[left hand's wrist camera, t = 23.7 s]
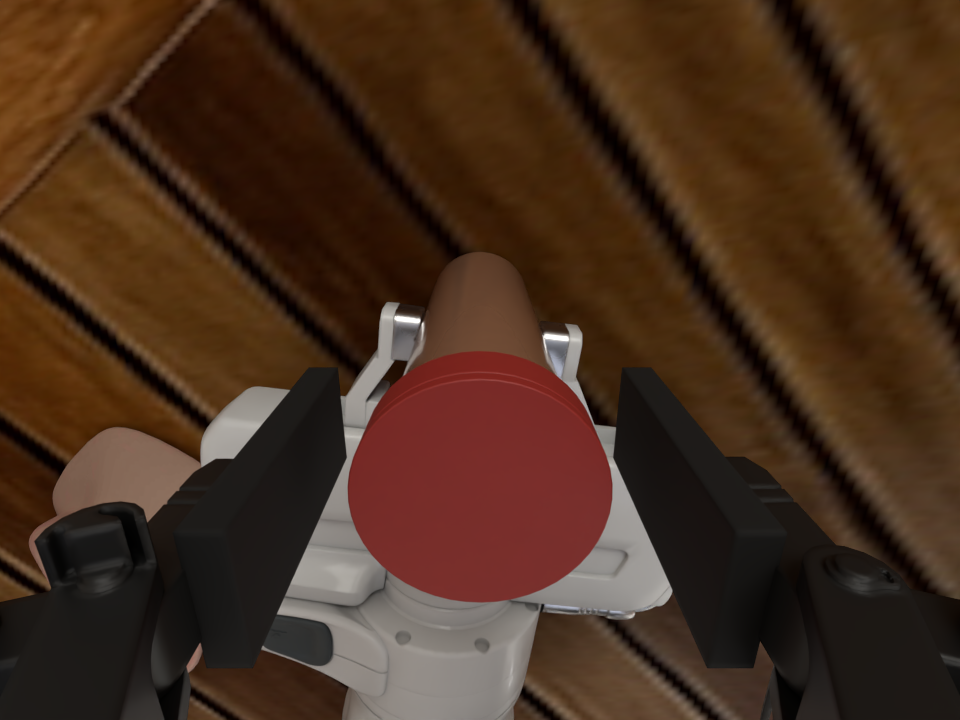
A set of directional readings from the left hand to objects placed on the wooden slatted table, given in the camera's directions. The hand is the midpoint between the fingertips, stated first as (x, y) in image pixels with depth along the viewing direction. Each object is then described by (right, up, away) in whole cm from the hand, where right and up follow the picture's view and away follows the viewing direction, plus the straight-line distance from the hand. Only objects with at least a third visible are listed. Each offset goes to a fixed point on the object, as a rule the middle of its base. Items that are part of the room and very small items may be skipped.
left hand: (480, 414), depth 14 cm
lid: (0, -1, -3) cm, 3 cm away
